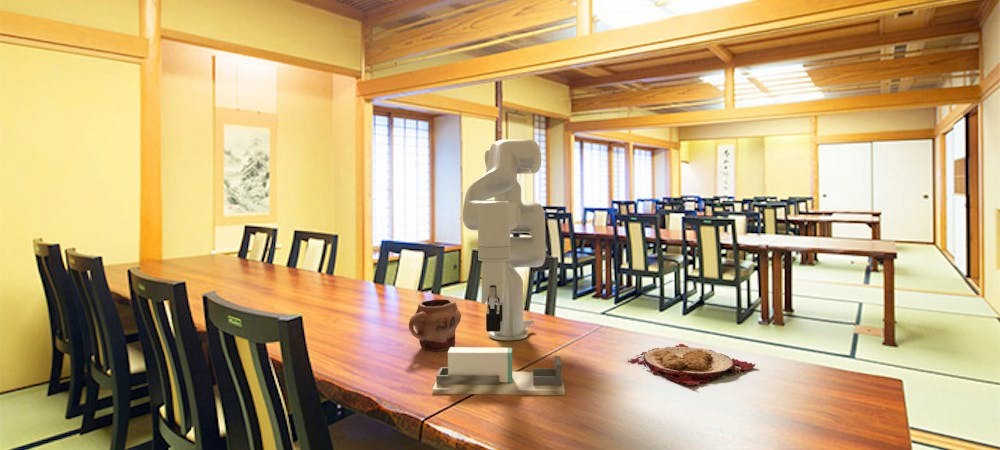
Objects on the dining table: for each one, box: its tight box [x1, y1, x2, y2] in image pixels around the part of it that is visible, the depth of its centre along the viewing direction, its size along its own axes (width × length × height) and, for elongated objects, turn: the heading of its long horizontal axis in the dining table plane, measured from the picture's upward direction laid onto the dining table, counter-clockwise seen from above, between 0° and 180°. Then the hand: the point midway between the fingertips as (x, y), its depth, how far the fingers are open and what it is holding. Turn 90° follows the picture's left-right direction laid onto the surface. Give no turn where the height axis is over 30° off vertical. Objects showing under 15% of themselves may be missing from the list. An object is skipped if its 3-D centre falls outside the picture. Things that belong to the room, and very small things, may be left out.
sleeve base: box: [432, 366, 566, 396], centre depth 121 cm, size 30×12×3 cm, turn 87°
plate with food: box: [626, 343, 757, 386], centre depth 134 cm, size 24×26×4 cm
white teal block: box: [447, 346, 513, 382], centre depth 121 cm, size 15×4×7 cm, turn 87°
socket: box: [532, 355, 563, 386], centre depth 120 cm, size 6×6×5 cm
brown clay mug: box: [408, 298, 462, 352], centre depth 149 cm, size 20×12×14 cm, turn 150°
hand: (494, 326), depth 120 cm, fingers open, 9 cm apart
